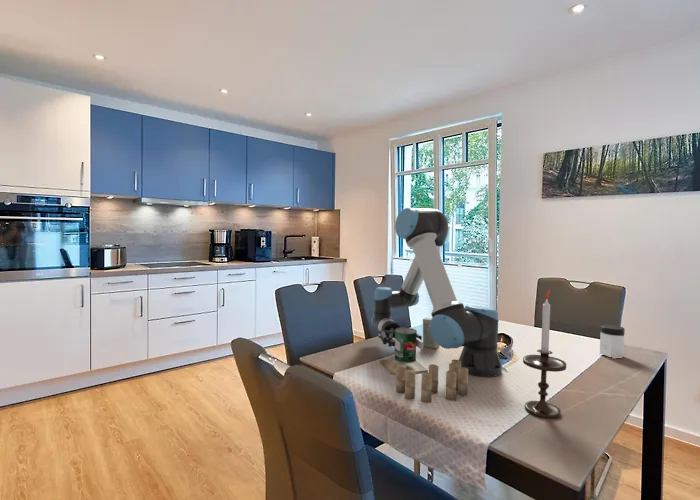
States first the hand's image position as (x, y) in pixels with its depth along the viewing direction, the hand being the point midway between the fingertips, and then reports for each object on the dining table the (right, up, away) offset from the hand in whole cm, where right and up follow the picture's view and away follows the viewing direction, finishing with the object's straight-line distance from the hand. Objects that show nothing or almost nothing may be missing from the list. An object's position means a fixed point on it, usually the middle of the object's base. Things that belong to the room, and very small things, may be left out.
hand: (410, 346), depth 137 cm
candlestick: (+33, -12, -28) cm, 45 cm away
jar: (+87, -10, +23) cm, 90 cm away
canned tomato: (-1, -6, +5) cm, 8 cm away
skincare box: (+14, -8, +32) cm, 36 cm away
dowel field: (+4, -10, -16) cm, 19 cm away
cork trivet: (-2, -9, +6) cm, 11 cm away
